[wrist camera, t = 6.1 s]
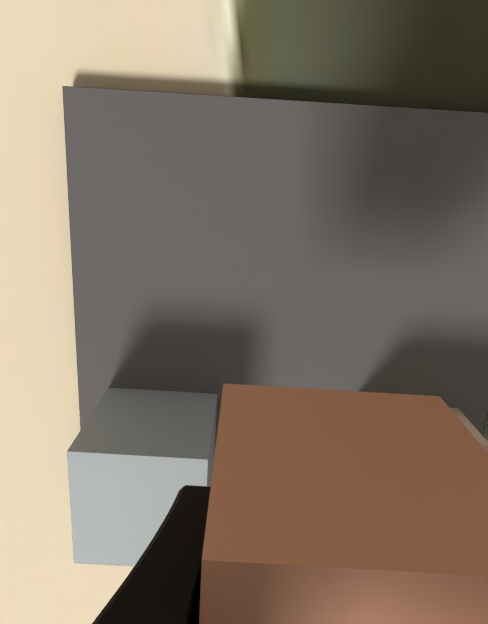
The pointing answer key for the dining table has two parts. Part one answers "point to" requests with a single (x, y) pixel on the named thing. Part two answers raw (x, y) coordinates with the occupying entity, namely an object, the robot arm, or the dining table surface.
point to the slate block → (136, 468)
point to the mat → (277, 246)
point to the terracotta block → (344, 511)
